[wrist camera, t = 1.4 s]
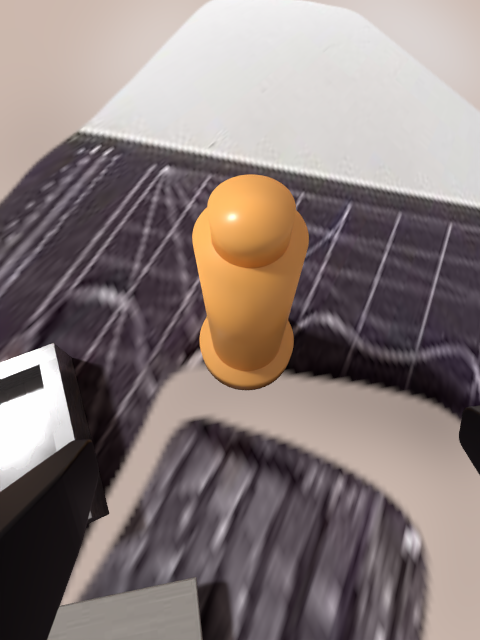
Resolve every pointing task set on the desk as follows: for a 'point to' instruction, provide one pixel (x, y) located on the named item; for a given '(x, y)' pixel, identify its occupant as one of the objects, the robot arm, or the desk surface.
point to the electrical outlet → (134, 615)
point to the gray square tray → (41, 415)
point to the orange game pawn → (249, 279)
